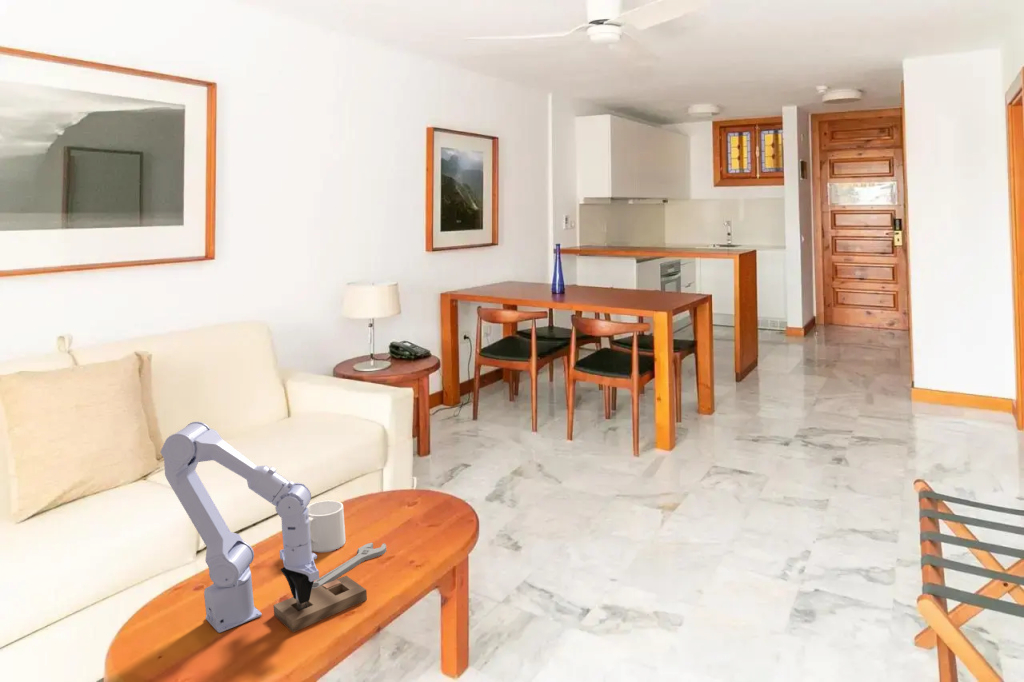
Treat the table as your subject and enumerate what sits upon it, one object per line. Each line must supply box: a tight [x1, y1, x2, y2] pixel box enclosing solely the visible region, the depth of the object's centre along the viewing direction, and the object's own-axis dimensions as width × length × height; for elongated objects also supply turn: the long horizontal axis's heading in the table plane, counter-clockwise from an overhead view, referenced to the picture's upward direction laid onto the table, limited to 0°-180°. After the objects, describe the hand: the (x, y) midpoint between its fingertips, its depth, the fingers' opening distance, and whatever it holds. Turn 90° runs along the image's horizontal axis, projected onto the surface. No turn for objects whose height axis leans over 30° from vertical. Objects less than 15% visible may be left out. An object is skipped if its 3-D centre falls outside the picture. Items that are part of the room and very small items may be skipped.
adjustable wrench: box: [312, 542, 387, 589], centre depth 174 cm, size 25×6×2 cm, turn 145°
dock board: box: [273, 575, 368, 633], centre depth 156 cm, size 18×9×3 cm, turn 133°
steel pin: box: [295, 588, 307, 611], centre depth 152 cm, size 2×2×8 cm
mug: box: [306, 499, 346, 553], centre depth 185 cm, size 13×10×10 cm
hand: (301, 599), depth 152 cm, fingers closed on steel pin, 2 cm apart
